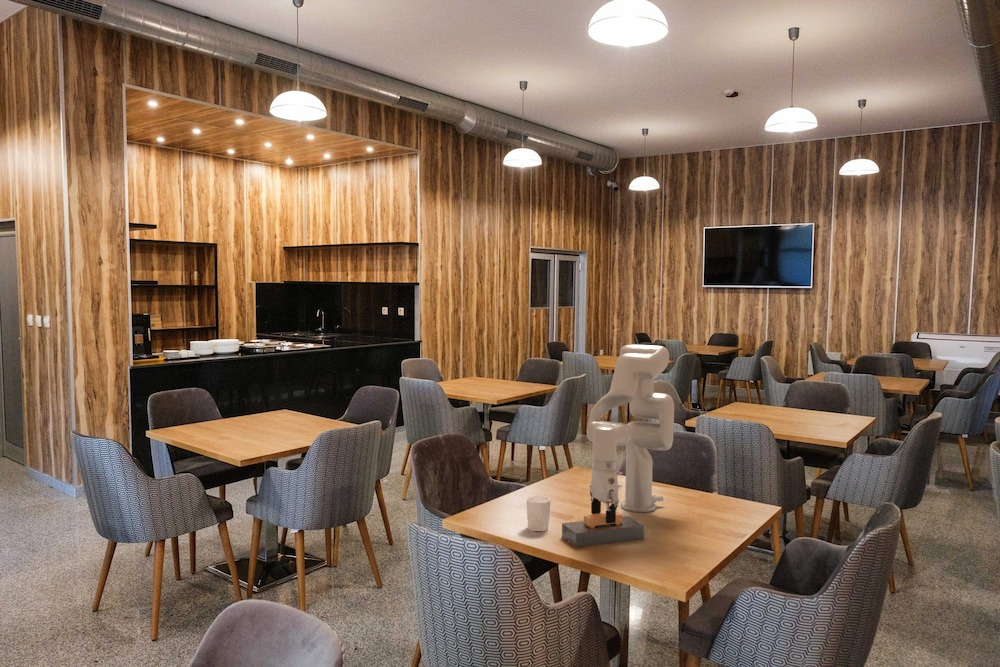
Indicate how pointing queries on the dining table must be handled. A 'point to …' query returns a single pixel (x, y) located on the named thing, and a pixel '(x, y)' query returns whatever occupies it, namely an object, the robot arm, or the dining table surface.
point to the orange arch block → (600, 519)
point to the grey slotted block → (602, 532)
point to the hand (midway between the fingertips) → (603, 518)
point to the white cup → (538, 513)
